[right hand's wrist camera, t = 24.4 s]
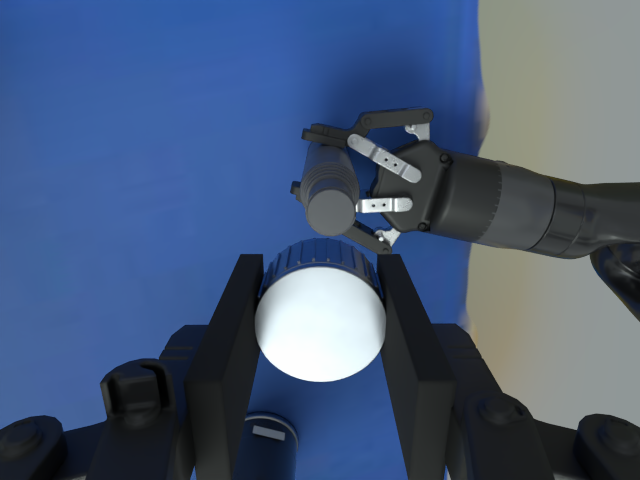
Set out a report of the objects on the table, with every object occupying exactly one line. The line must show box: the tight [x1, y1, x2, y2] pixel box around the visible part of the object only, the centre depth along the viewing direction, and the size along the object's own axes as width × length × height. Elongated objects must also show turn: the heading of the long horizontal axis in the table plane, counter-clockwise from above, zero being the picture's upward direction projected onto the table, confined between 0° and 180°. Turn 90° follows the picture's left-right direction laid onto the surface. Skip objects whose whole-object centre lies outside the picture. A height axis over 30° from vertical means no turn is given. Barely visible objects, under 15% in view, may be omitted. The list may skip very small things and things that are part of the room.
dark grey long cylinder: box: [300, 142, 360, 236], centre depth 34 cm, size 4×4×20 cm
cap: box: [254, 238, 386, 382], centre depth 14 cm, size 4×4×2 cm
